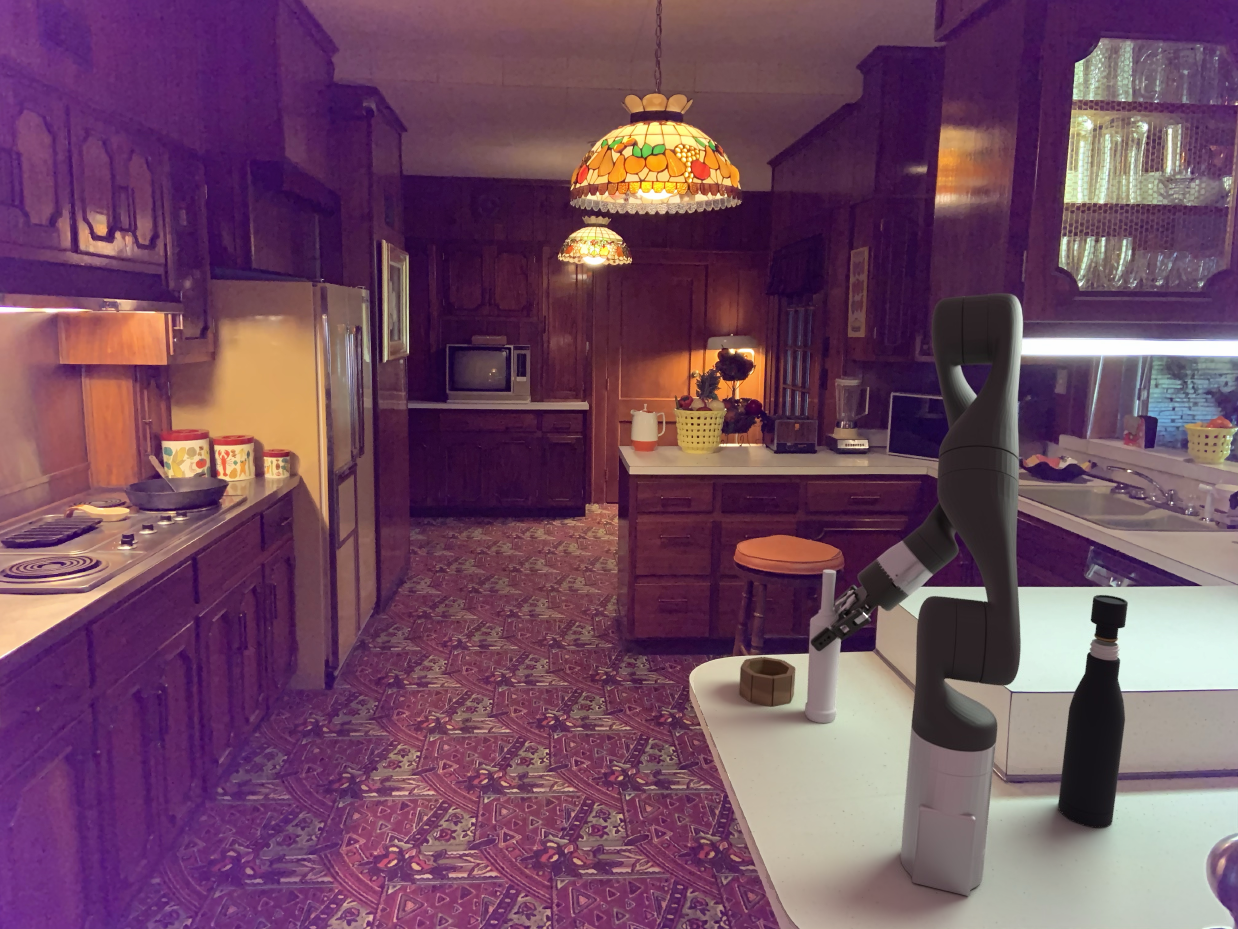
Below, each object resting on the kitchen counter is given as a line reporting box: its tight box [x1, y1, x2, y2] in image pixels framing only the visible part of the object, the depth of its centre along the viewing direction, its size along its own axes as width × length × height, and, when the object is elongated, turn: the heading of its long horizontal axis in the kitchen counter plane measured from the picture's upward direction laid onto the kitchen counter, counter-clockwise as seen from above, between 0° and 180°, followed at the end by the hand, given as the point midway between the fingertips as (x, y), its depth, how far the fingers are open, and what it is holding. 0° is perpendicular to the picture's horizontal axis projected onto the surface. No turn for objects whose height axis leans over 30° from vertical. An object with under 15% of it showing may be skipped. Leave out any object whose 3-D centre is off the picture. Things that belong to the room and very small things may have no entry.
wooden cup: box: [738, 656, 796, 707], centre depth 147 cm, size 9×9×5 cm
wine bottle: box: [1057, 594, 1129, 828], centre depth 110 cm, size 6×6×30 cm
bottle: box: [804, 569, 843, 724], centre depth 137 cm, size 5×5×25 cm
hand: (813, 640), depth 138 cm, fingers closed on bottle, 5 cm apart
